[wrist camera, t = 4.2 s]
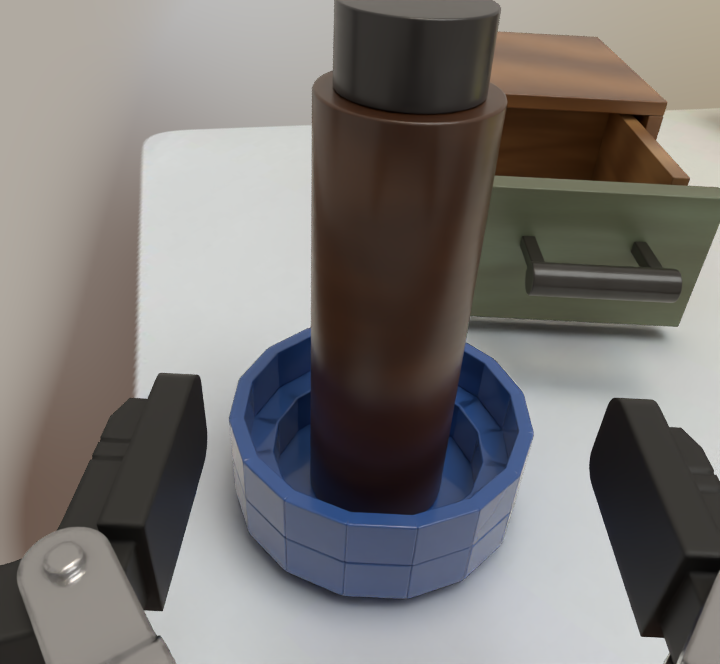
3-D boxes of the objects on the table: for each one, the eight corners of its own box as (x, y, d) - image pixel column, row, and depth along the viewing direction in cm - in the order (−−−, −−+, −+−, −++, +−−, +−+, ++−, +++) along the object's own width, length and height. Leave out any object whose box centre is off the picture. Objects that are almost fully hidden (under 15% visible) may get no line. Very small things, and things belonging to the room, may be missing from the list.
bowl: (214, 600, 21) (202, 518, 19) (259, 388, 29) (255, 313, 27) (532, 615, 21) (561, 535, 19) (490, 400, 29) (506, 325, 27)
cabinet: (624, 242, 42) (668, 102, 37) (420, 231, 42) (435, 89, 36) (570, 152, 53) (597, 36, 48) (410, 143, 53) (421, 27, 48)
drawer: (709, 379, 30) (773, 243, 26) (451, 366, 30) (474, 227, 26) (604, 204, 44) (634, 98, 40) (428, 195, 44) (440, 88, 40)
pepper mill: (304, 525, 23) (302, 17, 13) (315, 425, 27) (319, -24, 17) (445, 532, 23) (542, 30, 14) (435, 432, 27) (506, -14, 17)
